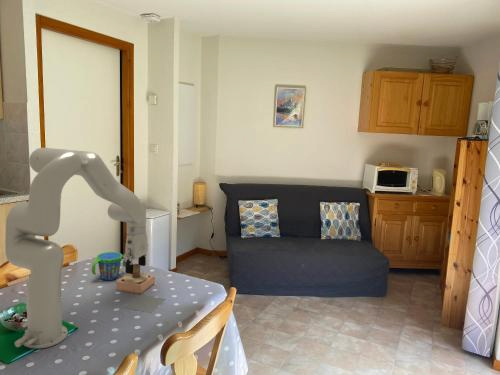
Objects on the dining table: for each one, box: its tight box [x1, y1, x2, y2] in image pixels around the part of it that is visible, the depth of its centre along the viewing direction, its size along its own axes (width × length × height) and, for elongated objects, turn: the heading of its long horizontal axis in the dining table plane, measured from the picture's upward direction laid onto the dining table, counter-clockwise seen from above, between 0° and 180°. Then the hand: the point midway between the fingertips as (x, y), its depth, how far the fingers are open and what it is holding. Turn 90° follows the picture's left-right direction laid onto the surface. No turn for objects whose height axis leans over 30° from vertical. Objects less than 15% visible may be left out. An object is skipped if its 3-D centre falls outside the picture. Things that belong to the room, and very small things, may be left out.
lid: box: [123, 263, 148, 283], centre depth 158 cm, size 10×10×6 cm
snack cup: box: [91, 251, 126, 281], centre depth 167 cm, size 16×10×10 cm
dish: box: [115, 273, 156, 295], centre depth 158 cm, size 11×11×4 cm
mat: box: [122, 294, 167, 314], centre depth 145 cm, size 12×12×1 cm
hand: (135, 269), depth 157 cm, fingers open, 9 cm apart
